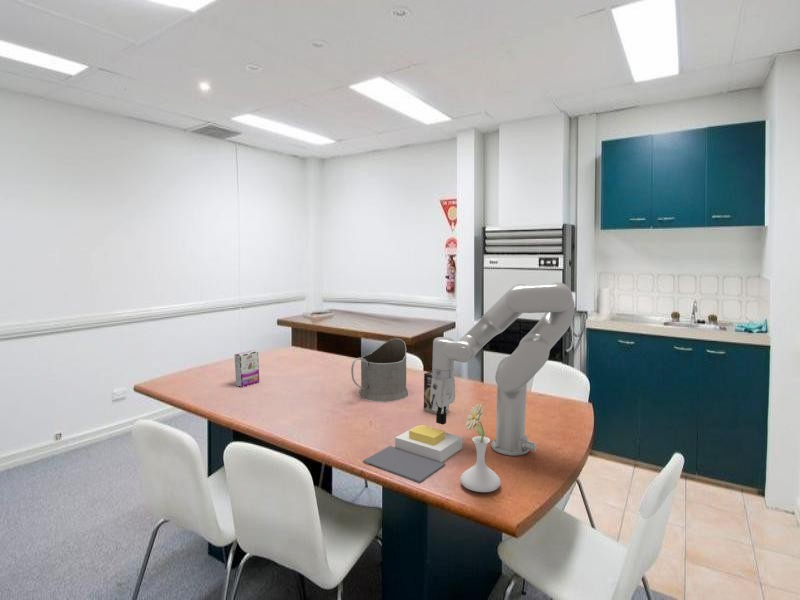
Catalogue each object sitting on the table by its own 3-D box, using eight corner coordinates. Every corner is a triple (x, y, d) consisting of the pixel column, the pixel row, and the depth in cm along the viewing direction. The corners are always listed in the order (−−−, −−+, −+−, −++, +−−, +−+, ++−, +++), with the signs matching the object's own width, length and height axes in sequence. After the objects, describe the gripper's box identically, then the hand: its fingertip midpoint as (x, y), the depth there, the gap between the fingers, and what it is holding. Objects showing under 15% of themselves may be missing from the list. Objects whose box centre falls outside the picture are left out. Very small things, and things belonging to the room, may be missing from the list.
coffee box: (423, 410, 193) (423, 373, 192) (432, 406, 198) (432, 370, 196) (440, 415, 187) (440, 377, 186) (449, 411, 192) (450, 374, 190)
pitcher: (418, 393, 217) (418, 341, 215) (370, 410, 194) (370, 352, 191) (383, 384, 233) (382, 335, 230) (335, 398, 209) (334, 345, 207)
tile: (445, 438, 154) (445, 431, 154) (433, 445, 149) (433, 437, 148) (420, 431, 160) (420, 424, 160) (409, 437, 155) (409, 430, 154)
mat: (445, 465, 143) (445, 463, 143) (419, 483, 132) (419, 481, 132) (390, 447, 157) (390, 445, 156) (362, 462, 145) (362, 460, 145)
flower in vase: (463, 474, 138) (464, 393, 135) (502, 479, 134) (504, 396, 132) (456, 496, 125) (457, 407, 123) (498, 502, 122) (500, 411, 119)
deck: (462, 448, 156) (462, 437, 155) (440, 463, 145) (440, 451, 144) (418, 435, 167) (418, 425, 166) (395, 448, 155) (395, 437, 155)
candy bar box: (253, 381, 238) (252, 350, 237) (259, 382, 236) (258, 351, 234) (235, 386, 229) (233, 354, 227) (241, 387, 226) (240, 355, 225)
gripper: (440, 379, 152) (438, 432, 154) (462, 370, 164) (460, 419, 166) (421, 375, 157) (420, 426, 159) (444, 366, 169) (443, 415, 171)
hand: (441, 423), depth 162 cm, fingers closed
